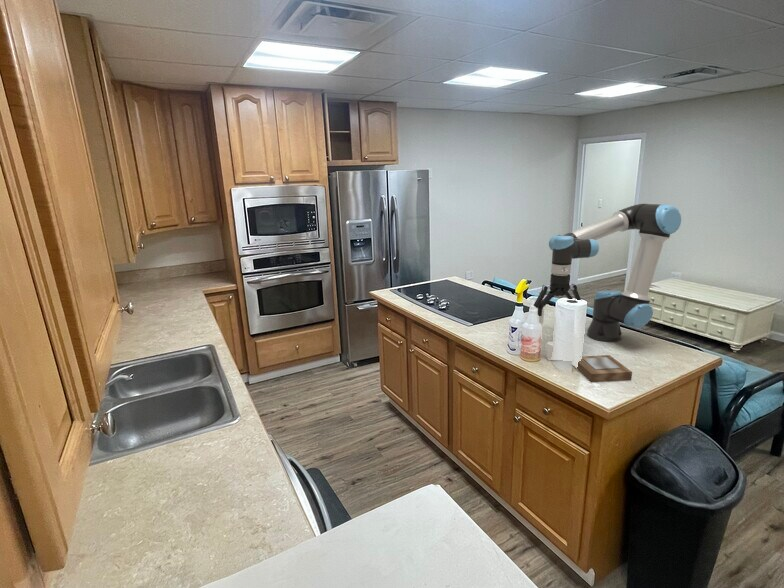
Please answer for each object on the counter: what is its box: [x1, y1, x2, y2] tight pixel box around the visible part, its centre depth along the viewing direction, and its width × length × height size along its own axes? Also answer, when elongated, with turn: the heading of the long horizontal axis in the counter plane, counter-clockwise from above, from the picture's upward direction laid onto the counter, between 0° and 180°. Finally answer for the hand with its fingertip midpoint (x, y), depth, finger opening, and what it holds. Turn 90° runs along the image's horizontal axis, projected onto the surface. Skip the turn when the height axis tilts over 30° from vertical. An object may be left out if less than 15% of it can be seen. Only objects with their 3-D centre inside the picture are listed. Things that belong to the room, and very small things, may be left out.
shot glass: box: [545, 340, 554, 359], centre depth 183 cm, size 7×7×7 cm
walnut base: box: [576, 354, 633, 383], centre depth 169 cm, size 16×16×4 cm
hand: (556, 322), depth 179 cm, fingers open, 13 cm apart
